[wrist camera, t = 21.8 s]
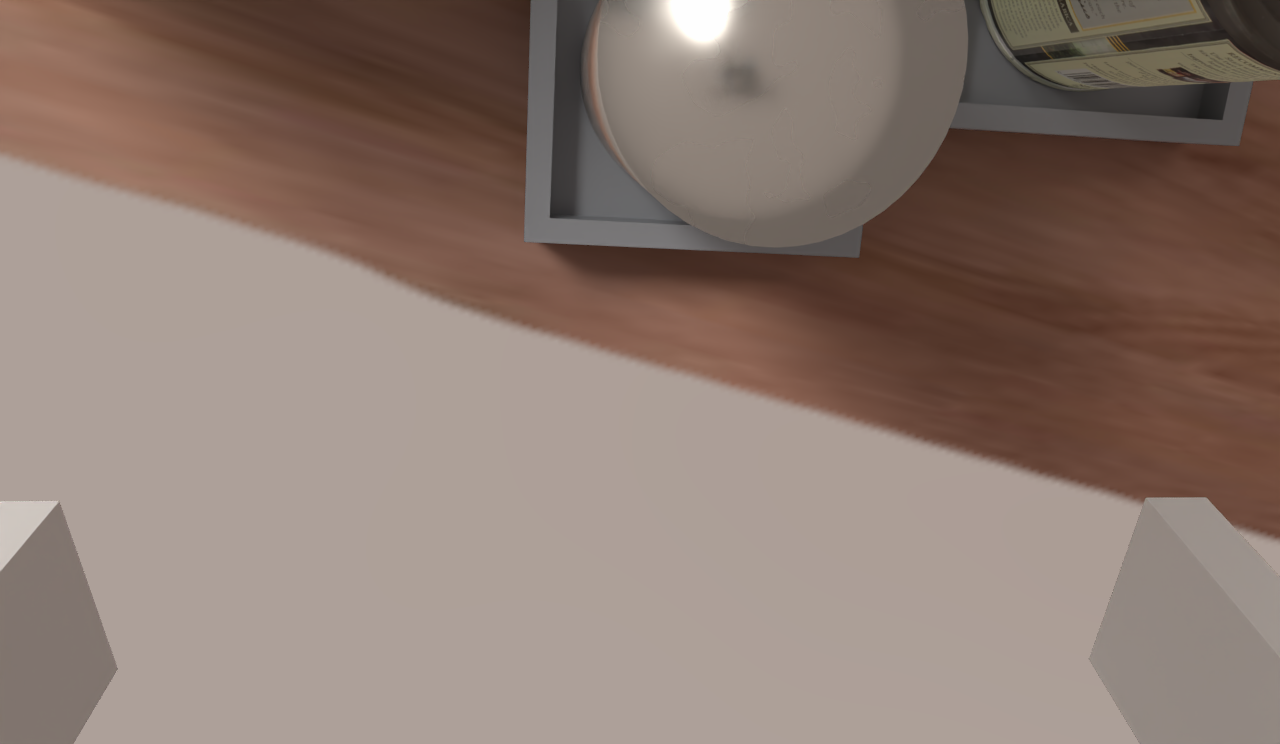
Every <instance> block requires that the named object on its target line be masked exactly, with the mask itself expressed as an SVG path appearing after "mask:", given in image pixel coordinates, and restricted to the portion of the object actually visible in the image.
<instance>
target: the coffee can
mask: <svg viewBox="0 0 1280 744" xmlns="http://www.w3.org/2000/svg"><path fill="white" fill-rule="evenodd" d="M979 1H980V8H981V11H982V14H983V16H984V19H985V21H986V25H987V27H988V30H989V32H990V34H991V36H992V38H993V40H994V42H995V44H996V45H997V47H998V48H999V49H1000V51H1001V52H1002V53H1003V55H1004V56H1005V57H1006V58H1007V60H1008V61H1009V62H1011V63H1012V64H1013V65H1014V66H1015V67H1016V68H1017V69H1018V70H1019V71H1021V72H1022V73H1023V74H1025V75H1027V76H1028V77H1029V78H1030V79H1031V80H1034V81H1037V82H1039V83H1041V84H1044V85H1046V86H1049V87H1052V88H1056V89H1060V90H1065V91H1076V92H1087V91H1098V90H1105V89H1109V88H1128V87H1149V86H1168V85H1187V84H1204V83H1229V82H1249V81H1264V80H1280V0H979Z"/></svg>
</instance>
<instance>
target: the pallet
mask: <svg viewBox="0 0 1280 744" xmlns="http://www.w3.org/2000/svg"><path fill="white" fill-rule="evenodd" d="M598 1H599V0H531V13H530V48H529V83H528V119H527V154H526V190H525V225H524V242H537V243H558V244H579V245H600V246H621V247H642V248H664V249H685V250H706V251H727V252H748V253H769V254H790V255H811V256H833V257H854V258H859V255H860V246H861V238H862V230H863V225H861V226H859V227H857V228H854V229H852V230H850V231H848V232H846V233H844V234H842V235H839V236H836V237H833V238H830V239H827V240H824V241H821V242H816V243H811V244H806V245H801V246H793V247H777V248H773V247H759V246H749V245H745V244H740V243H735V242H730V241H727V240H724V239H721V238H719V237H716V236H713V235H710V234H707V233H705V232H703V231H702V230H700V229H698V228H696V227H694V226H692V225H690V224H688V223H686V222H685V221H683V220H682V219H681V218H679V217H678V216H676V215H675V214H673V213H672V212H671V211H669V210H668V209H667V208H666V207H664V206H663V205H662V204H661V203H660V202H659V201H658V200H657V199H656V198H655V197H653V196H652V195H651V194H650V193H649V192H648V191H647V190H646V189H645V188H644V187H642V186H641V185H640V184H639V183H638V182H637V181H636V180H635V179H634V178H633V177H631V176H630V175H629V174H628V173H627V172H626V171H625V170H624V169H623V168H622V167H621V166H619V165H618V164H617V163H616V162H615V161H614V160H613V158H612V157H611V156H610V155H609V154H608V153H607V151H606V150H605V149H604V147H603V146H602V144H601V143H600V141H599V139H598V138H597V136H596V135H595V132H594V130H593V128H592V126H591V124H590V122H589V119H588V116H587V113H586V110H585V107H584V103H583V98H582V93H581V86H580V56H581V49H582V44H583V39H584V35H585V32H586V29H587V26H588V23H589V20H590V18H591V16H592V14H593V12H594V9H595V7H596V5H597V3H598Z"/></svg>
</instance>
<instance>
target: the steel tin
mask: <svg viewBox="0 0 1280 744" xmlns="http://www.w3.org/2000/svg"><path fill="white" fill-rule="evenodd" d="M967 53H968V28H967V14H966V8H965V3H964V0H599V1H598V3H597V5H596V7H595V9H594V12H593V14H592V16H591V18H590V20H589V23H588V26H587V29H586V32H585V35H584V39H583V44H582V49H581V56H580V86H581V93H582V98H583V103H584V107H585V110H586V113H587V116H588V119H589V122H590V124H591V126H592V128H593V130H594V132H595V135H596V136H597V138H598V139H599V141H600V143H601V144H602V146H603V147H604V149H605V150H606V151H607V153H608V154H609V155H610V156H611V157H612V158H613V160H614V161H615V162H616V163H617V164H618V165H619V166H621V167H622V168H623V169H624V170H625V171H626V172H627V173H628V174H629V175H630V176H631V177H633V178H634V179H635V180H636V181H637V182H638V183H639V184H640V185H641V186H642V187H644V188H645V189H646V190H647V191H648V192H649V193H650V194H651V195H652V196H653V197H655V198H656V199H657V200H658V201H659V202H660V203H661V204H662V205H663V206H664V207H666V208H667V209H668V210H669V211H671V212H672V213H673V214H675V215H676V216H678V217H679V218H681V219H682V220H683V221H685V222H686V223H688V224H690V225H692V226H694V227H696V228H698V229H700V230H702V231H703V232H705V233H707V234H710V235H713V236H716V237H719V238H721V239H724V240H727V241H730V242H735V243H740V244H745V245H749V246H759V247H773V248H777V247H793V246H801V245H806V244H811V243H816V242H821V241H824V240H827V239H830V238H833V237H836V236H839V235H842V234H844V233H846V232H848V231H850V230H852V229H854V228H857V227H859V226H861V225H863V224H865V223H866V222H868V221H869V220H871V219H872V218H874V217H875V216H877V215H878V214H880V213H882V212H883V211H884V210H886V209H887V208H888V207H889V206H890V205H892V204H893V203H894V202H895V201H896V200H898V199H899V198H900V197H901V196H902V195H903V194H904V193H905V192H906V191H907V190H908V189H909V188H910V187H911V186H912V185H913V184H914V182H915V181H916V180H917V179H918V178H919V177H920V176H921V174H922V173H923V171H924V170H925V169H926V167H927V166H928V165H929V163H930V162H931V161H932V159H933V158H934V156H935V154H936V153H937V151H938V149H939V147H940V146H941V144H942V142H943V140H944V139H945V137H946V135H947V132H948V130H949V128H950V125H951V123H952V120H953V118H954V116H955V113H956V110H957V107H958V103H959V100H960V96H961V93H962V90H963V84H964V78H965V72H966V66H967Z"/></svg>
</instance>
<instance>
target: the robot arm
mask: <svg viewBox="0 0 1280 744" xmlns="http://www.w3.org/2000/svg"><path fill="white" fill-rule="evenodd" d="M1089 660H1090V662H1091V663H1092V665H1093V667H1094V668H1095V670H1096V672H1097V673H1098V675H1099V677H1100V678H1101V680H1102V682H1103V683H1104V685H1105V687H1106V688H1107V690H1108V692H1109V693H1110V695H1111V696H1112V698H1113V700H1114V701H1115V703H1116V705H1117V707H1118V708H1119V710H1120V712H1121V713H1122V715H1123V717H1124V718H1125V720H1126V722H1127V723H1128V725H1129V726H1130V728H1131V730H1132V732H1133V733H1134V735H1135V737H1136V738H1137V740H1138V742H1139V743H1140V744H1280V576H1279V575H1278V574H1277V573H1276V572H1275V571H1274V570H1273V569H1272V568H1271V567H1270V565H1268V563H1267V562H1266V561H1265V560H1264V559H1263V558H1262V557H1261V556H1260V555H1259V554H1258V553H1257V552H1256V550H1255V549H1254V548H1253V547H1252V546H1251V545H1250V544H1249V543H1248V542H1247V541H1246V540H1245V539H1244V538H1243V536H1242V535H1241V534H1240V533H1239V532H1238V531H1237V530H1236V529H1235V528H1234V527H1233V526H1232V525H1231V524H1230V523H1229V521H1228V520H1227V519H1226V518H1225V517H1224V516H1223V515H1222V514H1221V513H1220V512H1219V511H1218V510H1217V509H1216V507H1215V506H1214V505H1213V504H1212V503H1211V502H1210V501H1209V500H1208V499H1207V498H1206V497H1205V498H1146V499H1145V501H1144V504H1143V507H1142V510H1141V513H1140V516H1139V519H1138V521H1137V524H1136V527H1135V530H1134V533H1133V535H1132V538H1131V541H1130V544H1129V547H1128V550H1127V553H1126V556H1125V558H1124V561H1123V564H1122V567H1121V570H1120V573H1119V575H1118V578H1117V581H1116V584H1115V587H1114V589H1113V592H1112V595H1111V598H1110V601H1109V604H1108V606H1107V609H1106V612H1105V615H1104V618H1103V621H1102V623H1101V626H1100V629H1099V632H1098V635H1097V638H1096V641H1095V643H1094V646H1093V649H1092V652H1091V655H1090V658H1089ZM117 669H118V668H117V665H116V663H115V660H114V657H113V654H112V651H111V648H110V645H109V642H108V640H107V637H106V634H105V631H104V628H103V626H102V622H101V619H100V617H99V614H98V611H97V608H96V605H95V602H94V599H93V597H92V594H91V591H90V588H89V585H88V582H87V579H86V577H85V574H84V571H83V568H82V565H81V562H80V559H79V556H78V553H77V551H76V548H75V545H74V542H73V539H72V537H71V534H70V531H69V528H68V525H67V522H66V519H65V516H64V514H63V510H62V508H61V505H60V502H59V501H0V744H73V743H74V742H75V740H76V738H77V737H78V735H79V733H80V732H81V730H82V728H83V727H84V725H85V723H86V722H87V720H88V718H89V717H90V715H91V713H92V711H93V710H94V708H95V706H96V705H97V703H98V701H99V700H100V698H101V696H102V695H103V693H104V691H105V690H106V688H107V686H108V685H109V683H110V681H111V679H112V678H113V676H114V674H115V673H116V671H117Z"/></svg>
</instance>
